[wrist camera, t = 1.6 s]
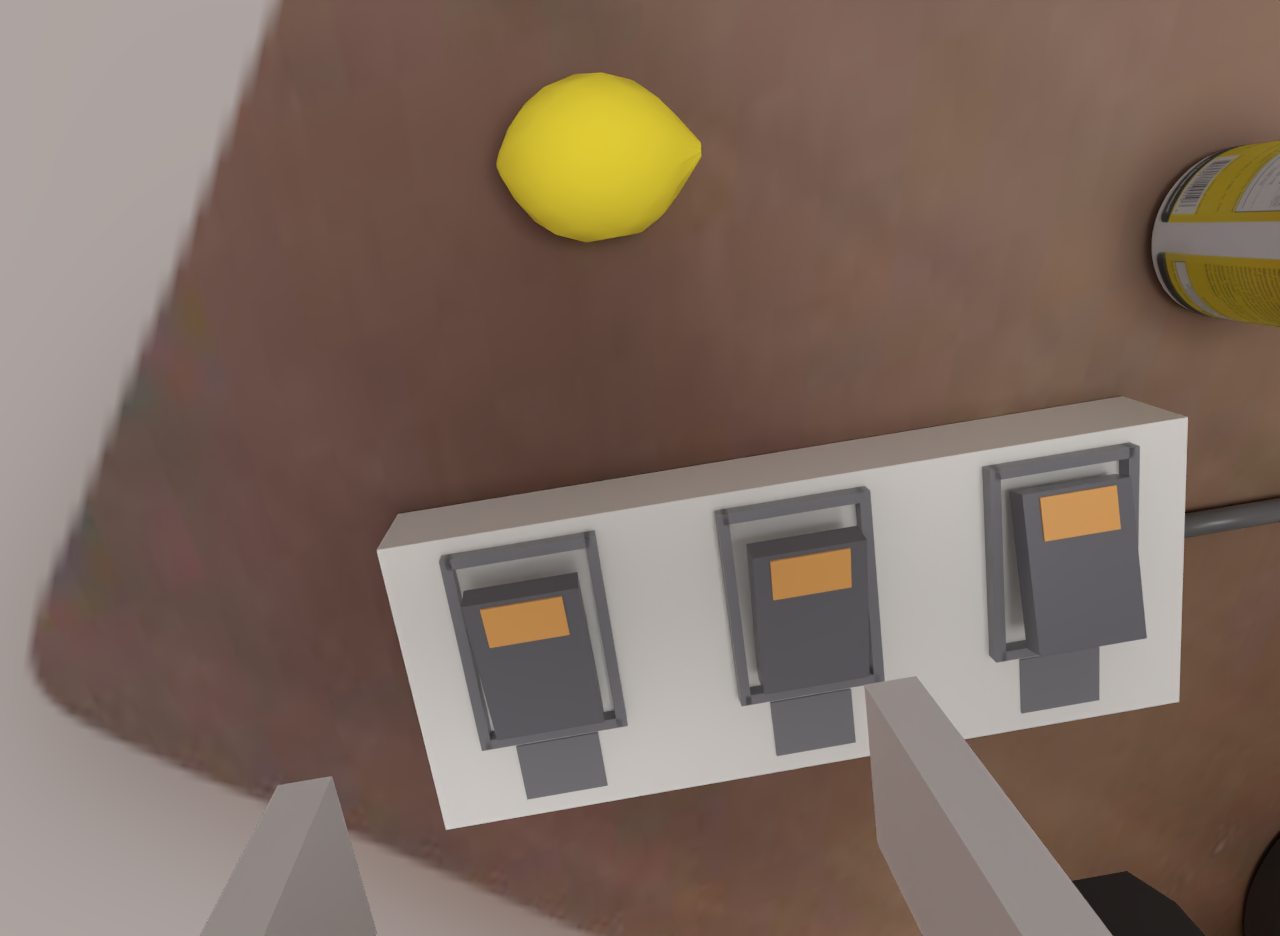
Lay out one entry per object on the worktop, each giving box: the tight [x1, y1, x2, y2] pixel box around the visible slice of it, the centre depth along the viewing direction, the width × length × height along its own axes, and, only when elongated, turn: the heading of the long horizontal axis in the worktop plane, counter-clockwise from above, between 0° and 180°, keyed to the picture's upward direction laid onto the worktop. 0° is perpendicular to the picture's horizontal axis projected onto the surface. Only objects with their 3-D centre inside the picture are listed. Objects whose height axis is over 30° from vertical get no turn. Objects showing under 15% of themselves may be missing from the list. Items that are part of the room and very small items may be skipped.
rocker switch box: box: [377, 396, 1280, 830], centre depth 35 cm, size 12×40×5 cm, turn 98°
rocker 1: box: [461, 572, 604, 741], centre depth 31 cm, size 6×4×1 cm, turn 9°
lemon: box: [497, 73, 702, 242], centre depth 30 cm, size 7×5×5 cm
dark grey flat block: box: [746, 526, 869, 695], centre depth 32 cm, size 6×4×1 cm, turn 9°
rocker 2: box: [1009, 474, 1147, 657], centre depth 32 cm, size 6×4×1 cm, turn 8°
